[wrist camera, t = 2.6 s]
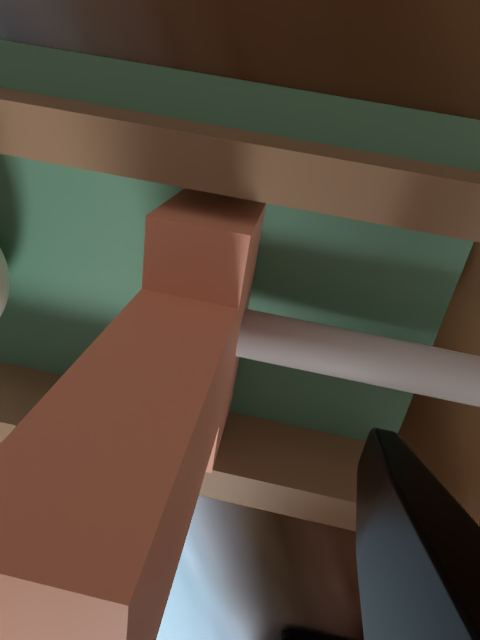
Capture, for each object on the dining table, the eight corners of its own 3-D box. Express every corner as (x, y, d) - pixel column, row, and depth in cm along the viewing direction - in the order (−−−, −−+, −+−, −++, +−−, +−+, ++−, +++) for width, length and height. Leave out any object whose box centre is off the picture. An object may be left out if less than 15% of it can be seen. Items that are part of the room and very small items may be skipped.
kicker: (519, 248, 11) (1114, 699, 3) (432, 443, 13) (601, 957, 5) (186, 187, 11) (-135, 410, 3) (167, 386, 14) (-33, 775, 6)
